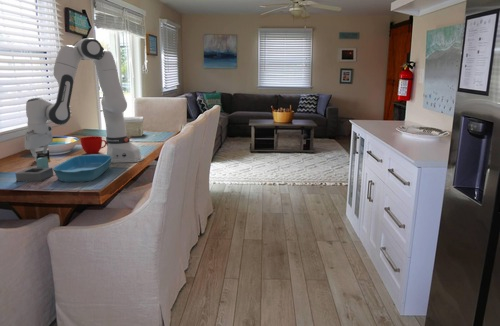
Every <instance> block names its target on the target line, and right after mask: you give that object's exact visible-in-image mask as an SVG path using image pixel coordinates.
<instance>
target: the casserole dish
mask: <svg viewBox="0 0 500 326" xmlns="http://www.w3.org/2000/svg"><path fill="white" fill-rule="evenodd" d="M111 159H112V156H109V155H107V154H101V153H100V154H98V153H97V154H83V155H76V156H73V157H70V158H68V159H66V160H65V161H63V162H61V163H59V164H57V165H55V166H54V167H52V168H53V173H54V174H55V176H56V177H57V179H58V180H59V181H61V182H69V183H70V182H71V183H72V182H73V183H74V182H78V183H79V182H91V181H94V180H95V179H97V178H99V177H100V176H101V175H102V174H104V172H106V171H107V170H108V169H109V168H110V167H111Z"/></svg>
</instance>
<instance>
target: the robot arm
mask: <svg viewBox="0 0 500 326" xmlns="http://www.w3.org/2000/svg"><path fill="white" fill-rule="evenodd" d="M82 60H83V61H85V60H86V61H87V60H88V61H89V60H90V61H91V60H92V61H93V63H94V65H95V69H96V73H97V80H98V83H99V86H100V89H101V91H102V95H103V97H102V98H101V102H100V104H101V108H102V113H103V117H104V122H105V129H106V136H105V139H106V140H105V141H106V143H107V144H106V151H107V152H106V155H109V156H112V159H111V163H112V164H117V163H138V162H141V161H144V160H145V159H146V156H145V155H142V153H141V150H140V148H139V147H138V146H136V145H135V144H134V143H132V142H131V141H130V140H131V137H128V136H126V127H125V121H124V118H123V117H124V114H123V113H124V112H125V111H127V108H128V102H127V100H126V97H125V93H124V92H123V89H122V86H121V82H120V77H119V73H118V69H117V65H116V61H115V57H114V55H113V53H112V52H111V51H110V50H107V49H105V48H104V47H103V46H102V44H101V42H99V41H98V40H97V39H96V38H93V37H87V38H82V39H80V40H77V41H76V42H74V43H73V45H70V44H63V46H60V49H59V51H58V53H57V56H56V59H55V61H54V66H53V77H54V78H55V80H56V81H57V85H58V91H57V97H56V101H55V103H53V102H50V101H48V100H45V99H43V98H42V97H33V98H29V99H27V101H26V104H25V113H26V118H27V122H26V123H27V130H28V131H26V133H25V135H24V138H23V140H24V142H23V143H24V149H25V150H28V151H29V150H30V152H31V156H32V157H33V158H35V157H37V153H36V152H35V151H36V148H39V147H42V146H43V147H44V149H43V153H45V154H46V153H47V149H48V150H49V145H51V144H52V143H53V132H52V131H53V127H52V126H50V125H48V124H47V122H52V123H54V124H55V125H65V124H67V123H68V122H69V121H70V118H71V109H70V104H71V98H72V92H73V87H74V83H75V77H76V74H77V71H78V67H79V63H80V62H81V61H82ZM111 163H110V164H111Z"/></svg>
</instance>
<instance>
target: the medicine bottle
mask: <svg viewBox="0 0 500 326" xmlns="http://www.w3.org/2000/svg"><path fill="white" fill-rule="evenodd" d="M43 149H44V147H43V146H42V147H39V148H36V151H35V152H36V153H37V157H34V161H35V162H36V159H38V158H48V162H50V161H51V158H50V156H51V155H50V150H49V148H48V149H47V153H46V154H45V153H43Z"/></svg>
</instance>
